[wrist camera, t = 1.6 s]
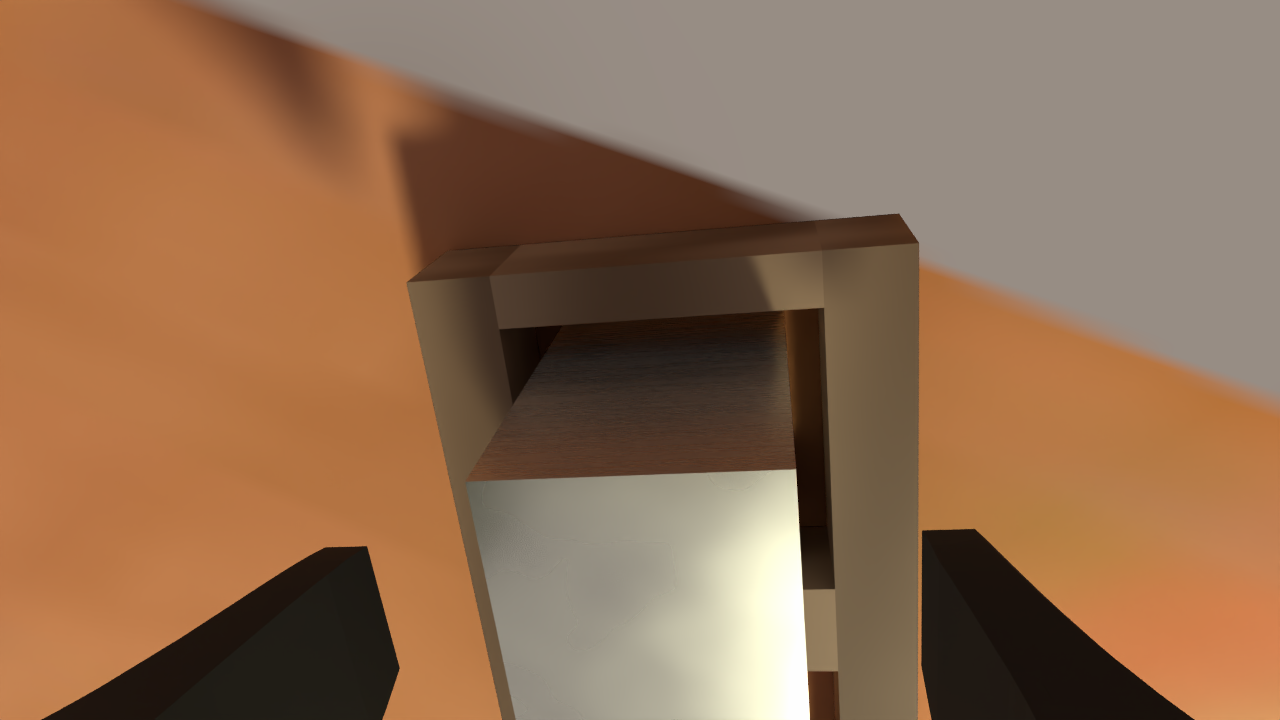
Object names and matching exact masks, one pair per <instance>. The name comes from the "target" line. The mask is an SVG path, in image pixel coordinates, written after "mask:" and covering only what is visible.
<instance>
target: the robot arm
mask: <svg viewBox="0 0 1280 720" xmlns="http://www.w3.org/2000/svg"><path fill="white" fill-rule="evenodd" d="M921 666H922V671H923V677H924V682H925V687H926V693H927V698H928V703H929V709H930V714H931V719H932V720H1194V719H1193V718H1191V717H1190V716H1189V715H1187V714H1186V713H1185V712H1183V711H1182V710H1180V709H1179V708H1178V707H1176V706H1175V705H1174V704H1172V703H1171V702H1170V701H1168V700H1167V699H1165V698H1164V697H1163V696H1162V695H1160V694H1159V693H1158V692H1156V691H1155V690H1154V689H1153V688H1151V687H1150V686H1149V685H1147V684H1146V683H1145V682H1144V681H1142V680H1141V679H1140V678H1139V677H1137V676H1136V675H1135V674H1134V673H1132V672H1131V671H1130V670H1129V669H1127V668H1126V667H1125V666H1123V665H1122V664H1121V663H1120V662H1118V661H1117V660H1116V659H1115V658H1113V657H1112V656H1111V655H1110V654H1109V653H1107V652H1106V651H1105V650H1104V649H1103V648H1102V647H1100V646H1099V645H1098V644H1097V643H1096V642H1095V641H1094V640H1092V639H1091V638H1090V637H1089V636H1088V635H1087V634H1086V633H1085V632H1083V631H1082V630H1081V629H1080V628H1079V627H1078V626H1077V625H1076V624H1074V623H1073V622H1072V621H1071V620H1070V619H1069V618H1068V617H1067V616H1065V615H1064V614H1063V613H1062V612H1061V611H1060V610H1059V609H1058V608H1057V607H1056V606H1054V605H1053V604H1052V603H1051V602H1050V601H1049V600H1048V599H1047V598H1046V597H1045V596H1044V595H1043V594H1042V593H1041V592H1039V591H1038V590H1037V589H1036V588H1035V587H1034V586H1033V585H1032V584H1031V583H1030V582H1029V581H1028V580H1027V579H1026V578H1025V577H1024V576H1023V575H1022V574H1021V573H1020V572H1019V571H1018V570H1017V569H1016V568H1015V567H1014V566H1013V565H1012V564H1011V563H1010V562H1009V561H1008V560H1006V559H1005V558H1004V557H1003V556H1002V555H1001V554H1000V553H999V552H998V551H997V550H996V549H995V548H994V547H993V546H992V545H991V544H990V543H989V542H988V541H987V540H986V539H985V538H984V537H983V536H982V535H981V534H980V533H979V532H977V531H976V530H975V529H960V530H925V531H922V661H921ZM399 669H400V668H399V664H398V660H397V657H396V653H395V649H394V645H393V642H392V638H391V634H390V631H389V627H388V623H387V619H386V616H385V612H384V608H383V604H382V601H381V597H380V593H379V590H378V586H377V582H376V578H375V575H374V571H373V567H372V563H371V560H370V556H369V552H368V549H367V546H362V547H327V548H323V549H321V550H319V551H318V552H316V553H314V554H312V555H310V556H308V557H306V558H305V559H303V560H301V561H300V562H298V563H296V564H295V565H293V566H291V567H290V568H288V569H286V570H285V571H283V572H282V573H280V574H279V575H277V576H275V577H274V578H272V579H271V580H269V581H268V582H266V583H265V584H263V585H261V586H260V587H258V588H257V589H255V590H254V591H252V592H251V593H249V594H248V595H246V596H245V597H243V598H242V599H240V600H238V601H237V602H235V603H234V604H232V605H231V606H229V607H228V608H226V609H225V610H223V611H222V612H220V613H218V614H217V615H215V616H214V617H212V618H211V619H209V620H208V621H206V622H205V623H203V624H202V625H200V626H199V627H197V628H195V629H194V630H192V631H191V632H189V633H188V634H186V635H185V636H183V637H182V638H180V639H178V640H177V641H175V642H173V643H172V644H170V645H169V646H167V647H165V648H164V649H162V650H160V651H159V652H157V653H155V654H154V655H152V656H151V657H149V658H147V659H146V660H144V661H142V662H141V663H139V664H137V665H136V666H134V667H133V668H131V669H129V670H128V671H126V672H124V673H123V674H121V675H119V676H118V677H116V678H114V679H113V680H111V681H110V682H108V683H106V684H105V685H103V686H101V687H100V688H98V689H96V690H94V691H93V692H91V693H89V694H87V695H86V696H84V697H82V698H80V699H79V700H77V701H75V702H73V703H71V704H70V705H68V706H66V707H64V708H62V709H61V710H59V711H57V712H55V713H53V714H51V715H49V716H48V717H46V718H44V719H42V720H382V719H383V716H384V713H385V711H386V708H387V705H388V702H389V699H390V696H391V693H392V690H393V687H394V684H395V681H396V678H397V675H398V672H399Z"/></svg>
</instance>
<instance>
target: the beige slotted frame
mask: <svg viewBox="0 0 1280 720" xmlns="http://www.w3.org/2000/svg"><path fill="white" fill-rule="evenodd" d="M407 287H408V292H409V296H410V301H411V306H412V310H413V315H414V319H415V324H416V328H417V333H418V337H419V342H420V347H421V351H422V356H423V360H424V365H425V369H426V374H427V378H428V383H429V388H430V392H431V397H432V401H433V406H434V410H435V415H436V420H437V424H438V429H439V433H440V438H441V442H442V447H443V451H444V456H445V461H446V465H447V470H448V474H449V479H450V483H451V488H452V492H453V497H454V502H455V506H456V511H457V515H458V520H459V524H460V529H461V533H462V538H463V543H464V547H465V552H466V556H467V561H468V565H469V570H470V575H471V579H472V584H473V588H474V593H475V597H476V602H477V606H478V611H479V616H480V620H481V625H482V629H483V634H484V638H485V643H486V647H487V652H488V657H489V661H490V666H491V670H492V675H493V679H494V684H495V689H496V693H497V698H498V702H499V707H500V711H501V716H502V720H516V718H515V714H514V709H513V704H512V700H511V695H510V690H509V686H508V681H507V676H506V671H505V667H504V662H503V657H502V653H501V648H500V643H499V639H498V634H497V629H496V624H495V620H494V615H493V610H492V606H491V601H490V596H489V592H488V587H487V582H486V578H485V573H484V568H483V563H482V559H481V554H480V549H479V545H478V540H477V535H476V531H475V526H474V521H473V517H472V512H471V507H470V502H469V498H468V493H467V488H466V484H465V481H466V479H467V478H468V476H469V475H470V473H471V471H472V470H473V468H474V467H475V465H476V463H477V462H478V460H479V459H480V457H481V455H482V454H483V452H484V451H485V449H486V447H487V446H488V444H489V443H490V441H491V439H492V438H493V436H494V435H495V433H496V431H497V430H498V428H499V427H500V425H501V423H502V422H503V420H504V419H505V417H506V415H507V414H508V412H509V411H510V409H511V407H512V406H513V404H514V403H515V401H516V399H517V398H518V396H519V395H520V393H521V391H522V390H523V388H524V386H525V385H526V383H527V382H528V380H529V378H530V377H531V375H532V374H533V372H534V370H535V369H536V367H537V366H538V364H539V362H540V355H539V349H538V343H537V337H536V331H535V327H540V326H555V325H570V324H585V323H600V322H615V321H630V320H645V319H660V318H675V317H690V316H705V315H720V314H735V313H750V312H765V311H780V310H795V309H810V308H818V323H819V347H820V372H821V396H822V420H823V444H824V469H825V493H826V517H827V527H799V532H800V550H801V568H802V586H803V604H804V623H805V641H806V659H807V671H833V687H834V711H835V720H918V423H919V242H918V241H917V239H916V238H915V236H914V235H913V234H912V232H911V231H910V229H909V228H908V226H907V225H906V224H905V222H904V220H903V219H902V217H901V216H900V214H888V215H877V216H865V217H852V218H840V219H828V220H816V221H804V222H791V223H779V224H767V225H755V226H743V227H731V228H719V229H707V230H694V231H682V232H670V233H658V234H646V235H634V236H622V237H610V238H598V239H585V240H573V241H561V242H549V243H537V244H525V245H513V246H501V247H488V248H476V249H464V250H452V251H447V252H445V253H444V254H443V255H442V256H440V257H439V258H438V259H436V260H435V261H434V262H432V263H431V264H430V265H429V266H427V267H426V268H425V269H423V270H422V271H421V272H419V273H418V274H417V275H416V276H414V277H413V278H412V279H410V280H409V281H408V282H407Z"/></svg>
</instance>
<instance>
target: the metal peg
mask: <svg viewBox="0 0 1280 720" xmlns="http://www.w3.org/2000/svg"><path fill="white" fill-rule="evenodd" d="M465 484H466V488H467V493H468V498H469V502H470V507H471V512H472V517H473V521H474V526H475V531H476V535H477V540H478V545H479V549H480V554H481V559H482V563H483V568H484V573H485V578H486V582H487V587H488V592H489V596H490V601H491V606H492V610H493V615H494V620H495V624H496V629H497V634H498V639H499V643H500V648H501V653H502V657H503V662H504V667H505V671H506V676H507V681H508V686H509V690H510V695H511V700H512V704H513V709H514V714H515V718H516V720H810V714H809V696H808V677H807V659H806V641H805V623H804V604H803V586H802V568H801V550H800V532H799V513H798V495H797V477H796V462H795V449H794V436H793V423H792V410H791V397H790V385H789V372H788V359H787V346H786V333H785V320H784V310H780V311H765V312H750V313H735V314H720V315H705V316H690V317H675V318H660V319H645V320H630V321H615V322H600V323H585V324H570V325H563V326H562V327H561V329H560V330H559V332H558V334H557V335H556V337H555V338H554V340H553V342H552V343H551V345H550V346H549V348H548V350H547V351H546V353H545V354H544V356H543V358H542V359H541V361H540V362H539V364H538V366H537V367H536V369H535V370H534V372H533V374H532V375H531V377H530V378H529V380H528V382H527V383H526V385H525V386H524V388H523V390H522V391H521V393H520V395H519V396H518V398H517V399H516V401H515V403H514V404H513V406H512V407H511V409H510V411H509V412H508V414H507V415H506V417H505V419H504V420H503V422H502V423H501V425H500V427H499V428H498V430H497V431H496V433H495V435H494V436H493V438H492V439H491V441H490V443H489V444H488V446H487V447H486V449H485V451H484V452H483V454H482V455H481V457H480V459H479V460H478V462H477V463H476V465H475V467H474V468H473V470H472V471H471V473H470V475H469V476H468V478H467V479H466V481H465Z"/></svg>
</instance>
